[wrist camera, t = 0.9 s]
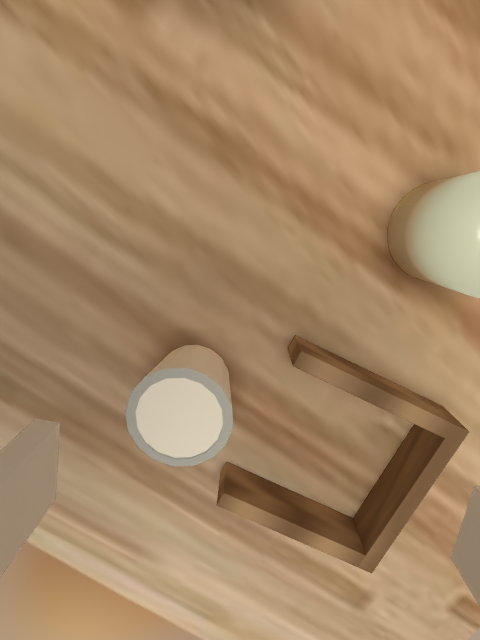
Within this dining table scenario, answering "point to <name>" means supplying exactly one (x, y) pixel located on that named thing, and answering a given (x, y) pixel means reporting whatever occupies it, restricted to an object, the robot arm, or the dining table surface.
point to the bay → (388, 493)
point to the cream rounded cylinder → (440, 233)
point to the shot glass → (182, 408)
